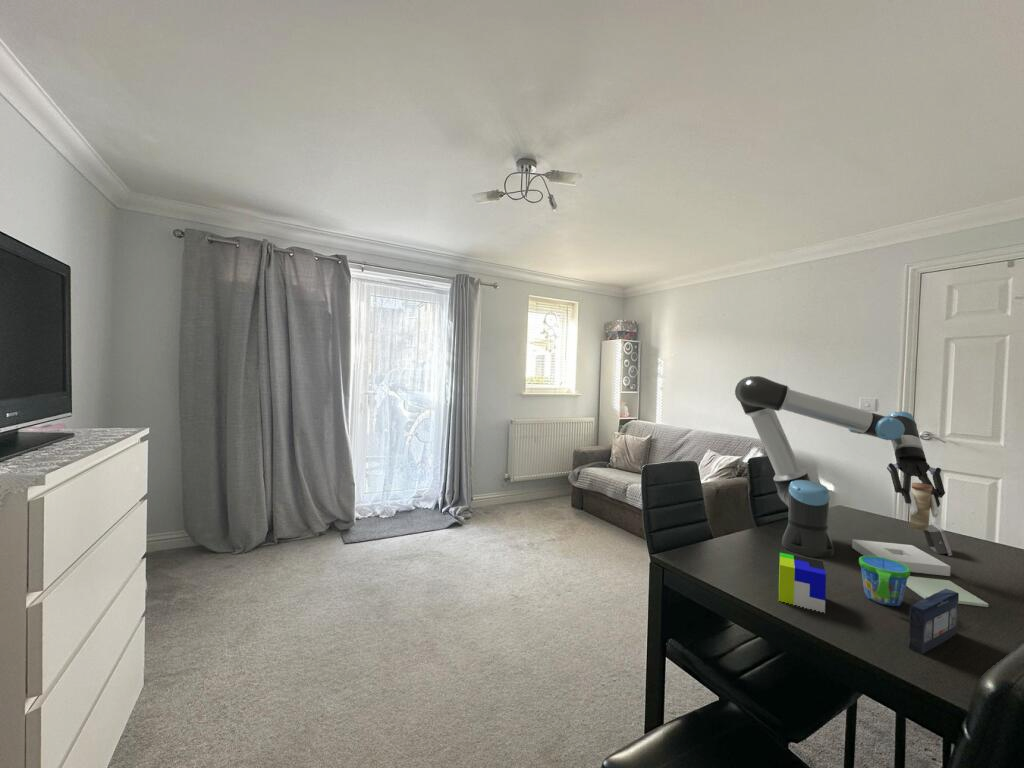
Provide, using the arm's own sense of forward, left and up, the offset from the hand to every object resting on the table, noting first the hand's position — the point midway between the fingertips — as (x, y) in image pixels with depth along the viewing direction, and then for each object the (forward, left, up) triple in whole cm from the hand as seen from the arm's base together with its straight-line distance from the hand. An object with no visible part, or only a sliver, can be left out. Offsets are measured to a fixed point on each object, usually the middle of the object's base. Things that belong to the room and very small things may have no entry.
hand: (925, 514), depth 133 cm
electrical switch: (+18, +25, -19) cm, 36 cm away
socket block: (-2, +10, -19) cm, 21 cm away
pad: (-4, -12, -19) cm, 23 cm away
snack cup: (-23, -23, -19) cm, 38 cm away
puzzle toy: (-45, -29, -19) cm, 57 cm away
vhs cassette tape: (-22, -42, -19) cm, 51 cm away
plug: (+1, +4, -6) cm, 7 cm away
